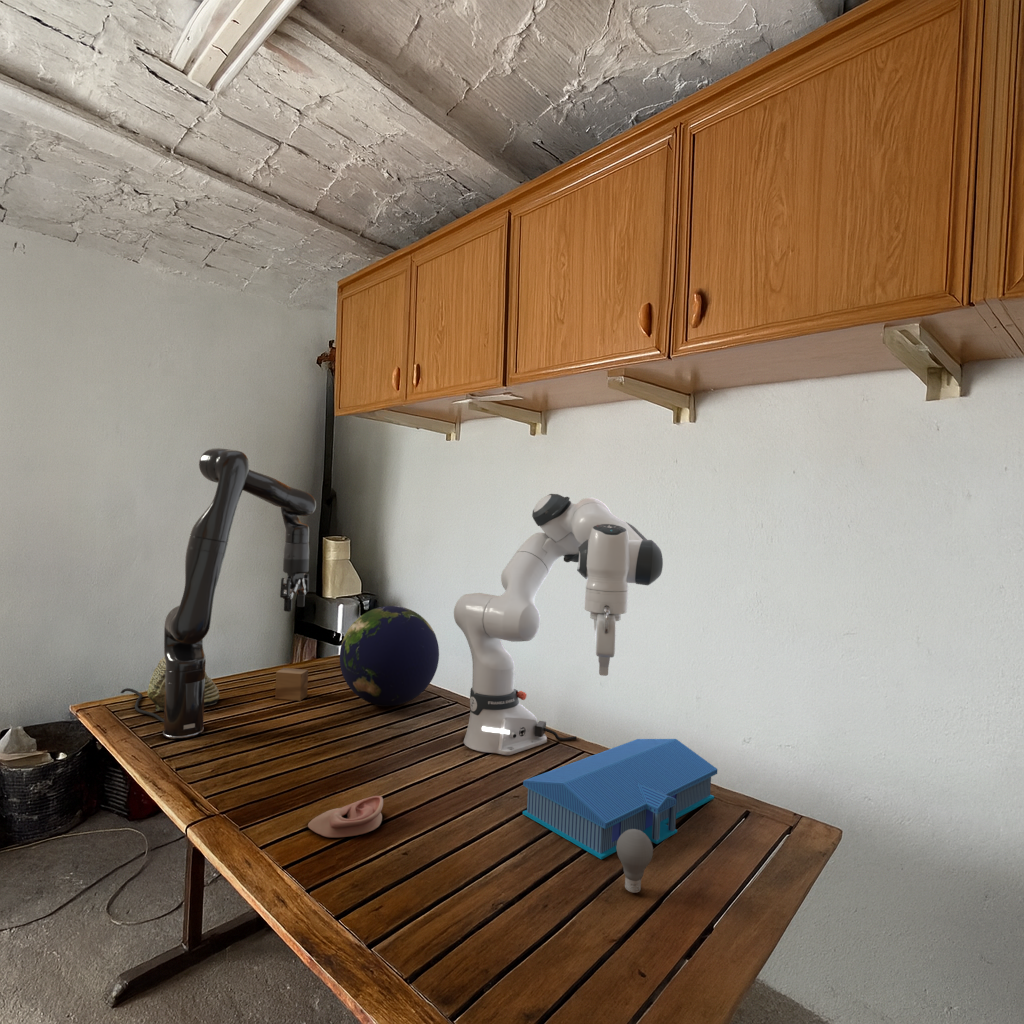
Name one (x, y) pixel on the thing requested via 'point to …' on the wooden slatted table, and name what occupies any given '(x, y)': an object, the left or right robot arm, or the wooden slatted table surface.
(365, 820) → the anatomical model
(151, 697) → the fossil
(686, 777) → the model building
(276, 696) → the block
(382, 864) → the wooden slatted table surface
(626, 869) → the light bulb
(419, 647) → the globe
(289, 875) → the wooden slatted table surface
